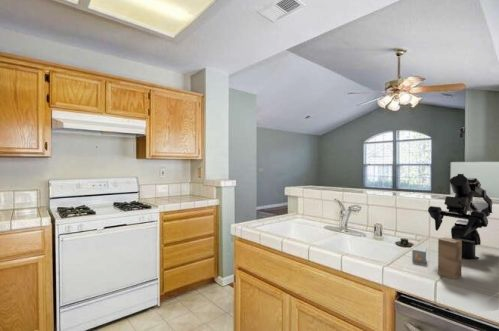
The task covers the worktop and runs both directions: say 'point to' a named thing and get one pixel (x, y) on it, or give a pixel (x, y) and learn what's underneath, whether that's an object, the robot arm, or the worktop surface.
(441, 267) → the walnut post
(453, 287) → the worktop surface
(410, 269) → the worktop surface
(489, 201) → the robot arm
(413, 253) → the letter block
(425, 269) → the worktop surface
